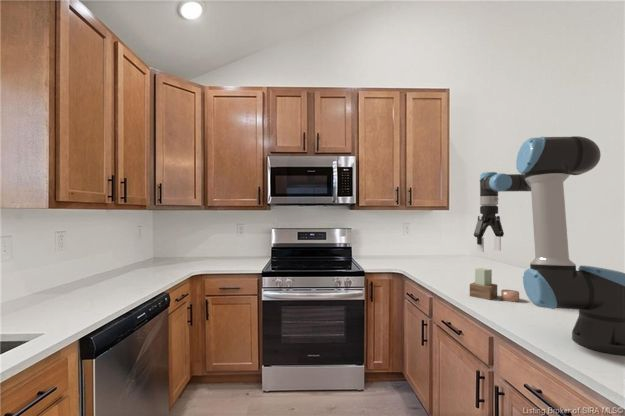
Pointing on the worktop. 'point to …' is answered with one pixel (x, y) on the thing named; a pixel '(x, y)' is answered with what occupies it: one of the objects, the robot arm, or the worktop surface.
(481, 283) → the green block
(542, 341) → the worktop surface
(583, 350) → the worktop surface
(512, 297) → the brown rounded block
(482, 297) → the walnut block
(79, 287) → the worktop surface
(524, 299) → the worktop surface
